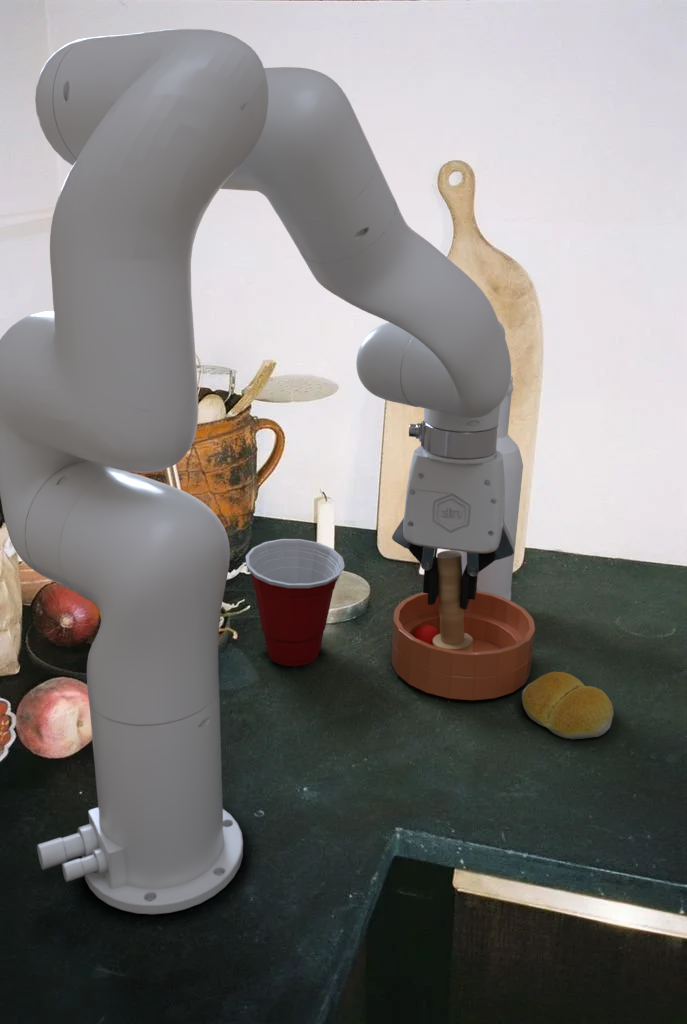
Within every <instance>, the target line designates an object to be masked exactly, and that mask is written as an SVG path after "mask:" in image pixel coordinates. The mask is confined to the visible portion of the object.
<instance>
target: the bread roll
mask: <svg viewBox="0 0 687 1024" xmlns="http://www.w3.org/2000/svg"><path fill="white" fill-rule="evenodd" d="M521 701H522V706H523V709H524V711H525V714H527V716H528V717H529V719H531V720H532V721H534V722H535V723H537V724H538V725H539V726H542V727H545V728H546V729H547V730H549V731H550V732H551V733H553V734H554V735H556V736H558V737H560V738H563V739H568V740H580V739H591V738H592V739H593V738H598V737H601V736H602V735H604V734H605V733H607V732H608V730H609V729H610V728H611V725H612V722H613V718H614V713H615V711H614V707H613V703H612V701H611V700H610V697H609V696H608V695H607V693H605V692H604V691H603V690H602V689H600V688H598V687H595V686H590V685H585V684H584V683H583V682H582V681H581V680H580V679H579V678H577V677H576V676H574V675H572V674H571V673H568V672H565V671H550V672H548V673H545V674H543V675H540V676H539V677H537V678H536V679H535V680H533V681H532V682H530V683H528V684H527V685H526V687H524V689H523V690H522V694H521Z"/></svg>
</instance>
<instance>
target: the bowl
mask: <svg viewBox="0 0 687 1024" xmlns="http://www.w3.org/2000/svg"><path fill="white" fill-rule="evenodd" d="M463 610H464V633H467V634H469V635H470V636H471V637H472V638H473V651H472V652H468V651H455V650H449V649H445V648H441V647H437V646H433V645H430V644H428V643H426V642H423V641H421V640H419V639H416V638H415V637H414V634H415V631H416V630H417V629H418V628H419V627H420V626H422V625H431V626H434V627H435V628H436V629H437V630H438V631H439V633H440V611H439V594H438V597H437V599H436V602H435V604H433V605H430V604H428V593H423V591H422V592H418V593H415V594H413V595H411V596H409V597H407V598H405V599H402V601H401V602H400V603H399V604H398V605H397V606H396V607H395V608H394V611H393V618H392V621H393V622H392V641H391V664H392V667H393V669H394V671H395V673H396V674H397V675H398V676H399V677H400V678H401V679H402V680H403V681H405V682H406V683H407V684H408V685H409V686H412V687H414V688H416V689H418V690H421V691H422V692H425V693H426V694H430V695H434V696H438V697H442V698H446V699H449V700H462V701H480V700H490V699H498V698H500V697H503V696H506V695H509V694H513V693H514V692H516V691H518V690H519V689H520V688H521V687H523V686H524V685H526V683H527V681H528V679H529V677H530V674H531V673H532V663H533V654H534V644H535V634H536V626H535V620H534V618H533V617H532V616H531V614H530V613H529V612H528V611H527V610H526V608H524V607H522V606H521V605H519V604H517V603H516V602H514V601H513V600H512V599H511V600H508V599H505V598H503V597H500V596H497V595H495V594H491V593H486V592H481V591H476V597H475V600H472V599H470V600H469V603H468V606H467V609H463Z"/></svg>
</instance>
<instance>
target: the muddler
mask: <svg viewBox="0 0 687 1024" xmlns="http://www.w3.org/2000/svg"><path fill="white" fill-rule="evenodd" d="M436 557H437V566H438V588H439V611H440V634H438V635H436V636H435V637H434V638H433V646H437V647H441V648H445V649H449V650H455V651H468V652H472V651H473V638H472V637H471V636H470V635H469V634H467V633H464V610H463V609H462V608H460V597H461V583H462V555H461V553H460V552H457V551H450V550H443V551H440V552H437V556H436Z"/></svg>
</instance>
